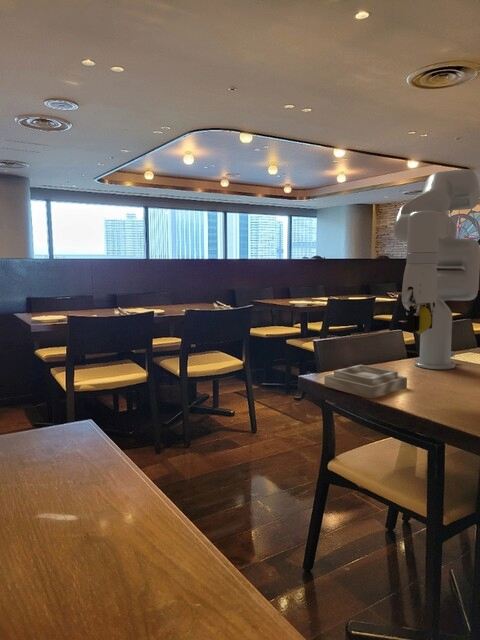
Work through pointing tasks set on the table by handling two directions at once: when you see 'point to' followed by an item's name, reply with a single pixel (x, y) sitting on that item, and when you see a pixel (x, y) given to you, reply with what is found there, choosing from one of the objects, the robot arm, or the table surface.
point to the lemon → (424, 319)
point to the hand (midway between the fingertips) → (419, 328)
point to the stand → (366, 381)
